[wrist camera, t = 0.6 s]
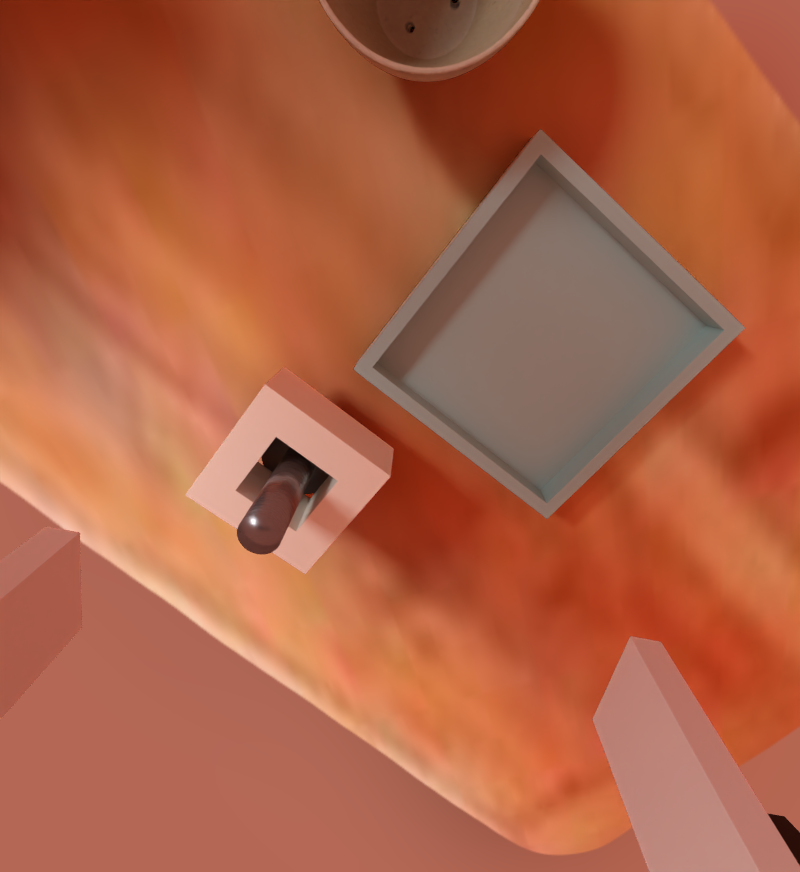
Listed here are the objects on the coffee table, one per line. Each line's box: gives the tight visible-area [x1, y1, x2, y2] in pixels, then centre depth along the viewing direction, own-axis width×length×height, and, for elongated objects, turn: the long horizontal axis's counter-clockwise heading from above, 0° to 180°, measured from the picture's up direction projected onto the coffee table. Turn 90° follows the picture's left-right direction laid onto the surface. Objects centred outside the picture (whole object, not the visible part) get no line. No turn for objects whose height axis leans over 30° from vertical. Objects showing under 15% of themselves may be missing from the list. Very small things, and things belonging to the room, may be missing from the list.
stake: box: [237, 437, 329, 554], centre depth 28 cm, size 5×5×12 cm
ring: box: [186, 367, 394, 574], centre depth 29 cm, size 8×8×4 cm
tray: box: [353, 129, 745, 519], centre depth 30 cm, size 16×16×2 cm
